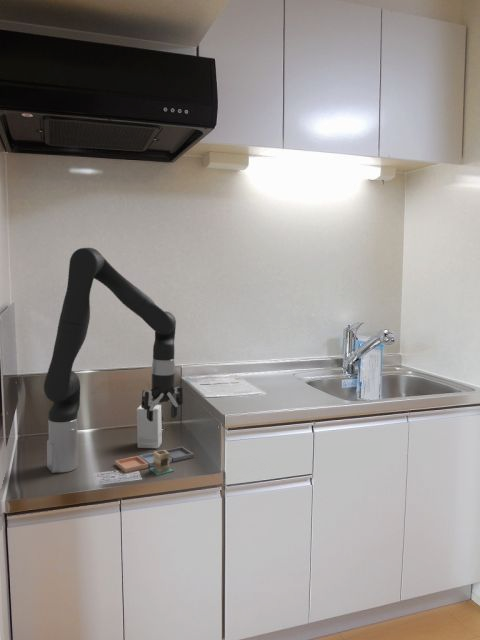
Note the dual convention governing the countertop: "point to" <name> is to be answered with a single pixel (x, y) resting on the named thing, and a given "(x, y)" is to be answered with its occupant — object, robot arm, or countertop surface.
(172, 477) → the countertop surface
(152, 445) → the skincare box
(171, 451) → the dish charcoal
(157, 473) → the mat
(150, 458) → the dish slate
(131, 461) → the dish terracotta
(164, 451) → the letter block
